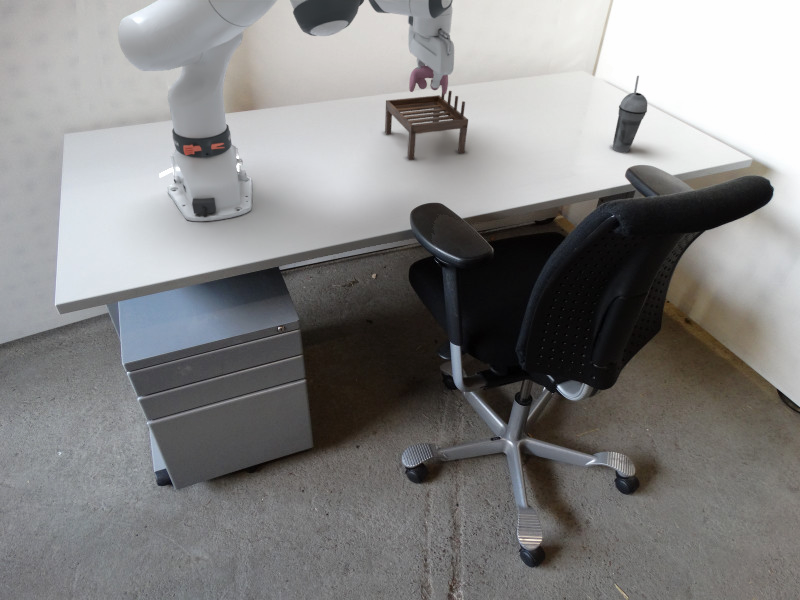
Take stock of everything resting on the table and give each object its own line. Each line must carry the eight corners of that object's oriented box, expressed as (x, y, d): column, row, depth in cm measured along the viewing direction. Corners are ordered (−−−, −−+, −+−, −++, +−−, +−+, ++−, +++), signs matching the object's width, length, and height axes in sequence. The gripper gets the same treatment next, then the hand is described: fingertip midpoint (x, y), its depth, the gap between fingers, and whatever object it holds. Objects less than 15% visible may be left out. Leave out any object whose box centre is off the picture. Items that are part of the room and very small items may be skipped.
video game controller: (446, 96, 152) (449, 68, 151) (446, 94, 148) (449, 65, 146) (409, 93, 153) (411, 65, 151) (408, 91, 148) (410, 62, 147)
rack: (464, 152, 157) (470, 105, 149) (409, 160, 152) (412, 112, 144) (436, 126, 169) (440, 82, 161) (384, 132, 164) (386, 87, 156)
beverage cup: (635, 156, 160) (659, 82, 148) (608, 152, 161) (629, 79, 149) (632, 145, 166) (655, 73, 153) (606, 142, 167) (626, 70, 154)
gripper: (463, 35, 135) (457, 94, 144) (428, 13, 149) (424, 68, 158) (438, 36, 133) (433, 97, 142) (405, 14, 147) (402, 70, 156)
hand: (428, 81), depth 150 cm, fingers closed on video game controller, 7 cm apart
